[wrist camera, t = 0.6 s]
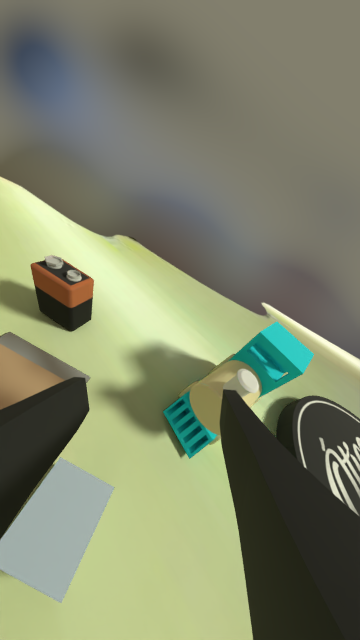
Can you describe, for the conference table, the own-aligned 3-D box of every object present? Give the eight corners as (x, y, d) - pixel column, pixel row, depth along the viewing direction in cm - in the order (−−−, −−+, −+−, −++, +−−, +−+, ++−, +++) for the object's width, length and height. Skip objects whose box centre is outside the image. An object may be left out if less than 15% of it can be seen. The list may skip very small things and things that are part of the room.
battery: (62, 300, 31) (58, 250, 25) (92, 319, 31) (96, 273, 24) (38, 311, 28) (26, 256, 21) (71, 333, 27) (69, 284, 21)
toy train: (158, 408, 25) (208, 354, 15) (221, 365, 36) (273, 317, 26) (189, 466, 21) (279, 442, 12) (248, 399, 32) (319, 358, 23)
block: (66, 572, 13) (61, 603, 10) (11, 542, 13) (-16, 561, 10) (106, 489, 17) (114, 487, 13) (64, 465, 17) (60, 457, 13)
